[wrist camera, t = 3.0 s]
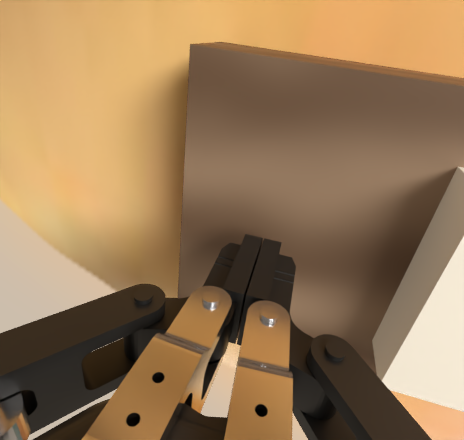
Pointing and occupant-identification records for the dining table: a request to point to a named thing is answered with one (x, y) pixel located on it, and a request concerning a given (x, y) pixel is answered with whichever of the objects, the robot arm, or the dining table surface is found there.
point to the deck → (317, 174)
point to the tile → (429, 313)
